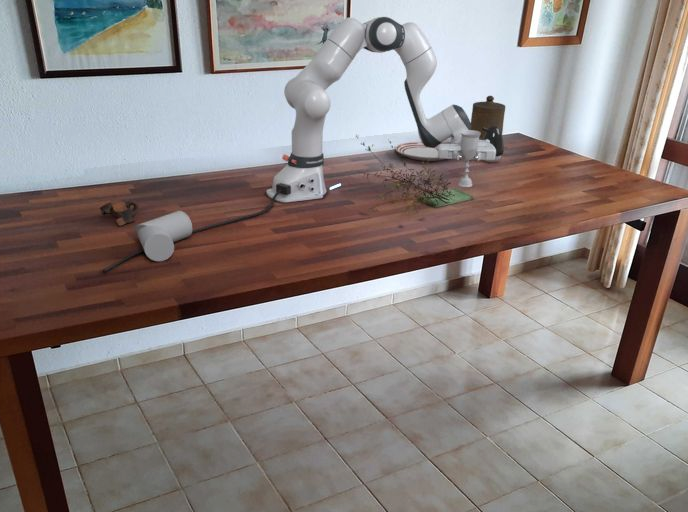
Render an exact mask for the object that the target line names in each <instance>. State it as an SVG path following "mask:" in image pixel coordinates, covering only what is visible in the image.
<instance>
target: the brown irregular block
mask: <svg viewBox="0 0 688 512" xmlns="http://www.w3.org/2000/svg"><path fill="white" fill-rule="evenodd" d="M131 206H133V208H132V210H131ZM99 210H100V216H101V217H104V216H105V215H111V216H112V217H114V218H116V217H118V215H119V216H120V217H119V218H117V219H116V223H117V224H118V226H119V227H122V226H124V225H125V224H129V223H132V222H133V218H134V215H135V214H137V212H138V210H139V204H138V203H137V201H136V200H128V201H126V202H124V201H122V199H121V198H117V199H114V200H111V201H110V202H108V203H105V204H103V205H102V206H100V207H99Z"/></svg>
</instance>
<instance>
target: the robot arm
mask: <svg viewBox="0 0 688 512" xmlns="http://www.w3.org/2000/svg"><path fill="white" fill-rule="evenodd" d="M363 49H364V50H366V51H368V52H370V53H371V52H372V53H378V54H383V53H386V52H390V51H394V52H396V53H397V55H398V56H399V58H400V60H401V62H402V64H403V66H404V68H405V73H406V77H405V78H406V79H405V80H404V81H403V82H404V83H403V85H404V90H405V93H406V97H407V100H408V103H409V106H410V109H411V112H412V114H413V118H414V122H415V124H416V127H417V134H418V137H419V139H420V142H422V143H423V144H424V145H425V146H426V147H430V148H435V147H436V146H438V145H439V144H440V145H439V147H436V150H437V151H438V158H441V159H443V160H456V161H461V162H466V160H465V159H464V157H463V154H462V151H461V138H462V135H461V131H465V130H471V120H470V118H469V116H468V114H467V113H466V111H465V110H464V108H463V106H460V105H457V104H451V105H450V106H448V107H446V108H444V109H443V110H441V111H440V112H438V113H437V114H434V115H433V116H431V117H430V118H427V117H426V114H425V111H424V108H423V105H422V101H421V99H420V96H421V93H422V90H423V89H424V88H425V86H426V85H427V84H428V82H429V81H430V80H431V79H432V77H433V76H434V74H435V72H436V69H437V65H438V60H437V56H436V55H435V51H434V50H433V47H432V46H431V43H430V42H429V39H428V38H427V36H426V35H425V34H424V32H423V31H422V29H421V27H419V26H418V24H417V23H415V22H412V21H411V22H406V23H403V24H401V23H399V22H397V21H396V20H394V19H392V18H391V17H388V16H379V17H374V18H372V19H370V20H368V21H366V22H364V23H362V22H361V21H360V20H358V19H356V18H355V17H345V18H344V19H343V20H341V22H340V23H339V24H338V25H337V26H336V27H335V28H334V29H333V31H332V32H331V33H330V34H329V36H327V38H326V40H325V41H324V43H323V44H322V46H320V48H319V50H318V51H317V53H316V54H315V56H314V57H313V58H312V59H311V60H310V61H309V63H307V65H305V66H304V67H303V69H302V70H300V72H299V73H298V74H297V75H295V77H293V78H291V79H289V80H288V82H287V83H286V84H285V86H284V89H283V93H284V94H283V95H284V98H285V100H286V103H288V105H289V107H291V108H292V109H294V110H295V119H294V124H293V127H292V129H291V152H290V155H287V154H283V155H282V156H281V157H282V158H281V159H282V160H283V161H285V162H287V164H286V165H285V166H284V167H283V168H282V169H281V170H280V171H278V172H277V174H275V175H274V176H273V179H272V184H271V185H272V186H271V188H268V189H266V195H267V196H268V198H270V199H271V200H270V204H269V205H268V207H266V208H265V209H263V210H261V211H257V212H255V213H250V214H247V215H243V216H240V217H236V218H233V219H229V220H225V221H221V222H217V223H212V224H209V225H206V226H202V227H199V228H195V229H192V234H195V233H199V232H202V231H206V230H208V229H213V228H217V227H219V226H224V225H227V224H232V223H235V222H239V221H242V220H246V219H249V218H253V217H257V216H259V215H262V214H264V213H267V212H268V211H269V210H270V209H271V208H272V206H273V205H274V202H275V201H276V202H280V203H294V202H301V201H302V202H303V201H310V200H319V199H323V198H324V195H326V193H327V192H328V190H327V187H326V183H325V175H324V163H325V162H324V161H325V159H324V152H323V134H324V128H325V127H324V126H325V122H326V118H327V114H328V113H329V111H330V109H331V105H332V104H331V97H330V96H329V94H328V92H327V91H326V90H328V89H329V87H331V85H333V84H334V83H336V82H338V81H339V80H341V78H342V76H343V75H344V74H345V72H346V70H347V69H348V68H349V67H350V66H351V64H352V62H353V60H355V57H356V56H357V54H358V53H359V52H361V50H363ZM448 139H449V143H443V142H445V141H446V140H448ZM495 156H496V149H495V147H494V146H493V145H492V144H490V141H489V140H488V139H482V138H479V143H478V149H477V151H476V153H475V155H474V157H473V158H472V160H471V161H474V162H479V161H483V160H495ZM341 186H342V184H341V183H338V184H335V185H333V186H330V187H329V190H333V189H336V188H338V187H341ZM143 253H145V251H144V249H143V248H141V249H139V250H136V251H135V252H133V253H131V254H129V255H126V256H125V257H123V258H122V259H120V260H117V261H116V262H113V263H112V264H110V265H108V266H107V267H105V268H103V269H102V272H103V273H106V272H108V271H110V270H111V269H114V268H115V267H117V266H119V265H120V264H123V263H124V262H126V261H128V260H130V259H132V258H133V257H136V256H137V255H140V254H143Z"/></svg>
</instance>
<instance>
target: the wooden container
mask: <svg viewBox="0 0 688 512" xmlns="http://www.w3.org/2000/svg"><path fill="white" fill-rule="evenodd" d="M485 99H486V100H485V101H476V102H473V103H472V109H471V110H472V112H471V116H470V117H471V118H470V123H471V130H474V131H479V132H481V135H480V136H479V138H482V139H483V136H484V134H485V132H486V131H484V130H482V127H484V128H487V129H488V128H489V127H490V126H492V125H496V126H498V127H499V128H500V130H501V133H502V134H503V133H504V130H503V129H504V123H505V113H506V105H505V104H503V103H500V102H495V101H494V100H495V96H493V95H488V96H486V98H485Z"/></svg>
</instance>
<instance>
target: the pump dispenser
mask: <svg viewBox="0 0 688 512" xmlns="http://www.w3.org/2000/svg"><path fill="white" fill-rule="evenodd" d="M482 130H484V131H486V132H485V134H484V136H483V139H488V140H489V141H490V144H492V145H493V146H494V147H495V149H496V156H495V160H482V161H483V162H484V163H489V164H495V163H497V162H499V161H500V160H501V159H502V157H503V155H504V137H503V132H502V133H501V130H500V128H499V127H498V126H496V125H492V126H490V127H489V128H488V129H487V128H484V127H482Z"/></svg>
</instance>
